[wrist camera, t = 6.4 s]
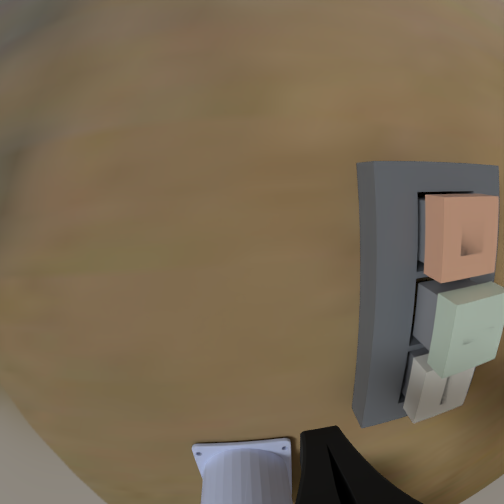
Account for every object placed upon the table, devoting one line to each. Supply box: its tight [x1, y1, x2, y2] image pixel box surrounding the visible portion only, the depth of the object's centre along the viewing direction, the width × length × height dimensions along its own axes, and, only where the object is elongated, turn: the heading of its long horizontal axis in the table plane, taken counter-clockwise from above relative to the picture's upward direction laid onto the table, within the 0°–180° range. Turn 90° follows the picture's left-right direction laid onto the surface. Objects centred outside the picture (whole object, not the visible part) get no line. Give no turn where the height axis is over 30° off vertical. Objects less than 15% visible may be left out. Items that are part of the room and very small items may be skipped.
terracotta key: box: [417, 194, 499, 283], centre depth 16 cm, size 4×4×5 cm
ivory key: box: [401, 347, 475, 423], centre depth 18 cm, size 4×4×5 cm
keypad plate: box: [352, 161, 499, 428], centre depth 18 cm, size 18×10×2 cm, turn 5°
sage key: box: [413, 278, 504, 379], centre depth 15 cm, size 4×4×5 cm
